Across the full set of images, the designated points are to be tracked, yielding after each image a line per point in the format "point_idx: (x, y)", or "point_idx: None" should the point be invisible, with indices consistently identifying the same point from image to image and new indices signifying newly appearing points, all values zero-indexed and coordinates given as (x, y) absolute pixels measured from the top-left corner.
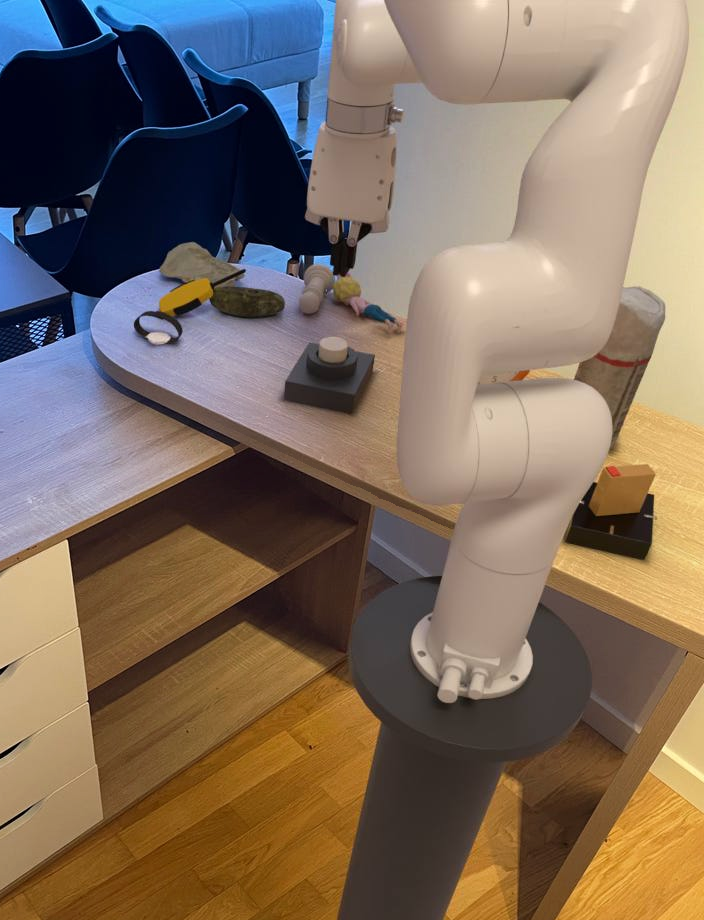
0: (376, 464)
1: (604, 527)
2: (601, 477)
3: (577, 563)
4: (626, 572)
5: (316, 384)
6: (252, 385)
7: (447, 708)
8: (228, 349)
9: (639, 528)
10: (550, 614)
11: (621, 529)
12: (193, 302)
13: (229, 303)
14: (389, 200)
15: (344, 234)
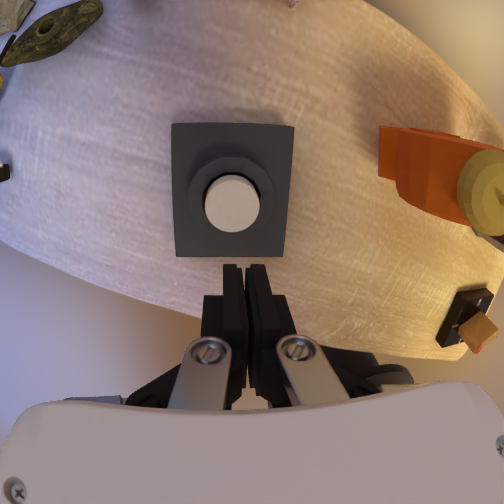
0: (315, 319)
1: (457, 340)
2: (472, 344)
3: (434, 350)
4: None
5: (222, 250)
6: (127, 223)
7: None
8: (63, 146)
9: None
10: (407, 376)
11: None
12: None
13: (27, 61)
14: (495, 410)
15: (242, 365)
